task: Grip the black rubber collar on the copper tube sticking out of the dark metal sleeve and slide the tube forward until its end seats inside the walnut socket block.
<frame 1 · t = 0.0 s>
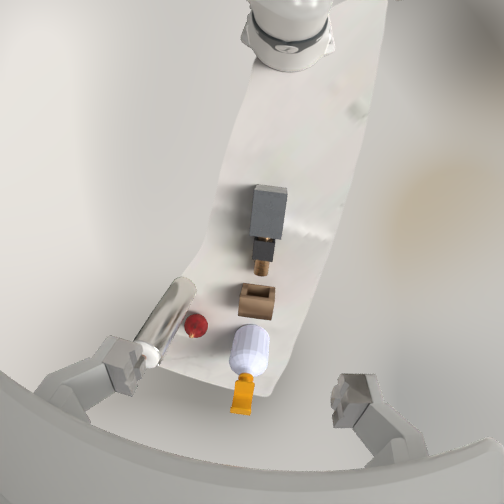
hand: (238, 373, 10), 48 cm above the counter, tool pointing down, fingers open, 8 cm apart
soap bottle: (252, 336, 70), on the counter
sleeve: (269, 208, 56), on the counter
socket: (258, 294, 64), on the counter
onion: (199, 316, 69), on the counter
silver metal cylinder: (184, 288, 66), on the counter
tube: (265, 236, 55), point 3 cm above the counter, slide at 0.0 cm
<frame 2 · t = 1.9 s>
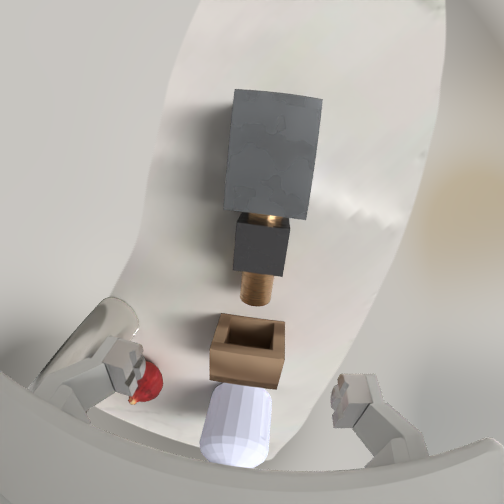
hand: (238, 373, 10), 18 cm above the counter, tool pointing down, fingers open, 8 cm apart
soap bottle: (242, 396, 38), on the counter
sleeve: (273, 154, 24), on the counter
socket: (250, 333, 32), on the counter
onion: (152, 362, 37), on the counter
silver metal cylinder: (119, 316, 34), on the counter
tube: (265, 215, 23), point 3 cm above the counter, slide at 0.0 cm
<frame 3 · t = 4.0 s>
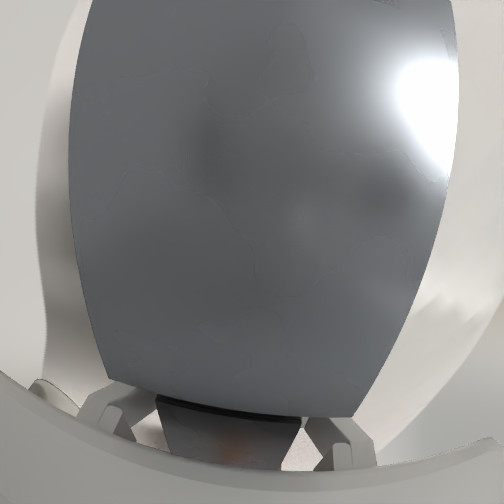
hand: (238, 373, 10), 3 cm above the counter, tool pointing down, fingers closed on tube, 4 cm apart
sleeve: (263, 180, 10), on the counter
silver metal cylinder: (60, 399, 19), on the counter
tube: (239, 349, 9), point 3 cm above the counter, slide at 0.0 cm, touching gripper
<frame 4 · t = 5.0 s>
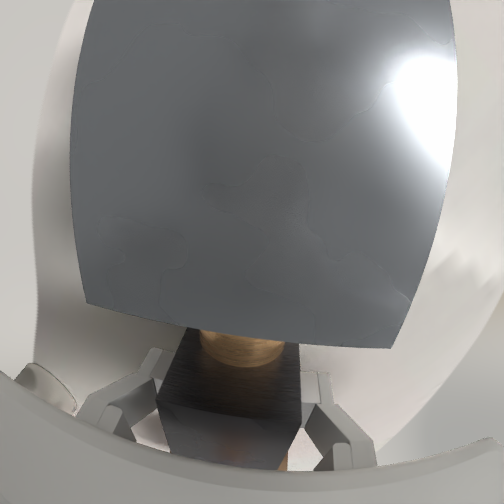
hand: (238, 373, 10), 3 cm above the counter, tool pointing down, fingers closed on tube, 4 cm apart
sleeve: (270, 119, 9), on the counter
silver metal cylinder: (52, 386, 19), on the counter
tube: (240, 348, 9), point 3 cm above the counter, slide at 2.3 cm, touching gripper
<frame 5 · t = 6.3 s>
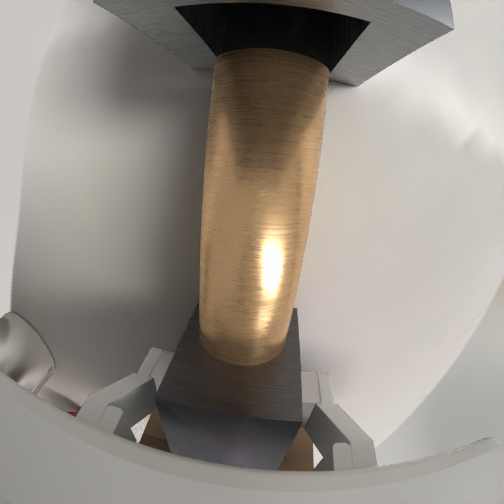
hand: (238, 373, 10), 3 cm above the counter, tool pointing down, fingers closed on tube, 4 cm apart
socket: (237, 398, 15), on the counter
silver metal cylinder: (29, 342, 16), on the counter
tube: (240, 346, 9), point 3 cm above the counter, slide at 8.0 cm, touching gripper
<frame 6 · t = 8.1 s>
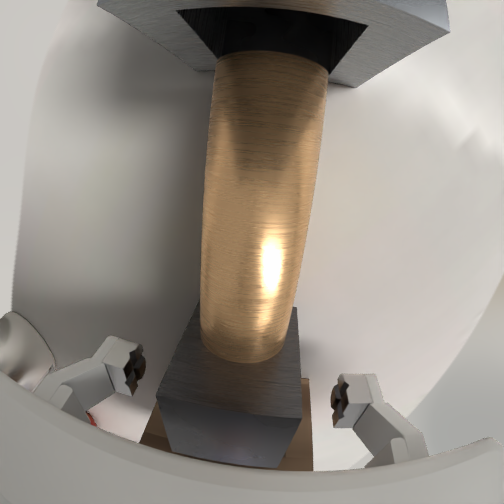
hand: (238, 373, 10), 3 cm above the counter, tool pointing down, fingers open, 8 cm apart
socket: (238, 397, 15), on the counter
silver metal cylinder: (30, 341, 16), on the counter
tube: (240, 344, 9), point 3 cm above the counter, slide at 8.0 cm
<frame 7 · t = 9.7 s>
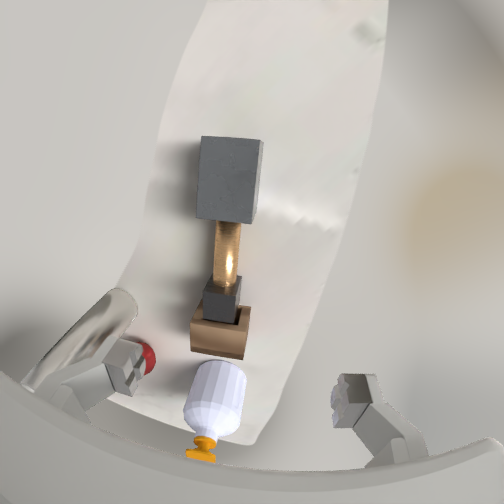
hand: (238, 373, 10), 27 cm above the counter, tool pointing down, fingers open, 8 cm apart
soap bottle: (222, 376, 46), on the counter
sleeve: (235, 177, 33), on the counter
socket: (225, 317, 41), on the counter
onion: (147, 345, 45), on the counter
silver metal cylinder: (122, 304, 42), on the counter
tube: (223, 283, 35), point 3 cm above the counter, slide at 8.0 cm
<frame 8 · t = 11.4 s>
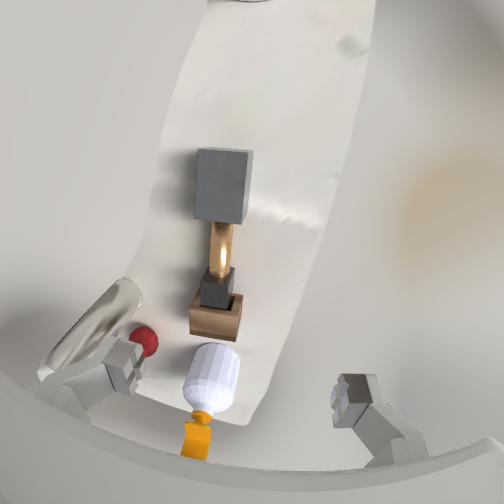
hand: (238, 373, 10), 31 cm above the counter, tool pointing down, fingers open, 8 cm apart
soap bottle: (218, 357, 52), on the counter
sleeve: (228, 182, 38), on the counter
socket: (220, 304, 46), on the counter
onion: (150, 330, 51), on the counter
silver metal cylinder: (128, 293, 48), on the counter
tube: (218, 274, 40), point 3 cm above the counter, slide at 8.0 cm
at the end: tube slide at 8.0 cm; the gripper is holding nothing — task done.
